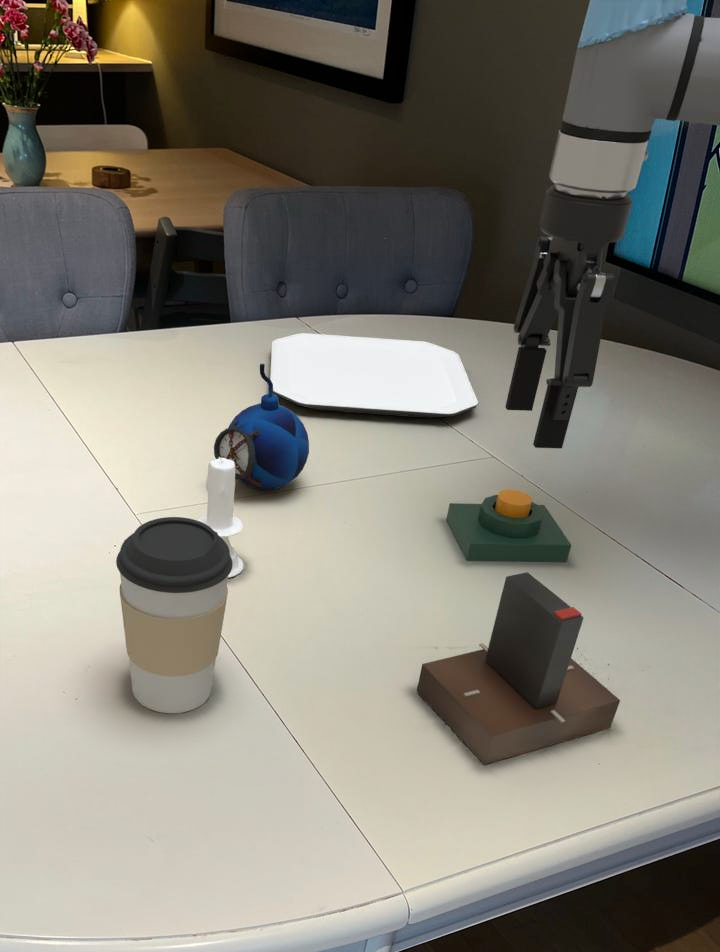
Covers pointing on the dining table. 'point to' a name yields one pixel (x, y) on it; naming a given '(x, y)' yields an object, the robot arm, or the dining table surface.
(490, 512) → the box
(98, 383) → the dining table surface
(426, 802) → the dining table surface
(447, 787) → the dining table surface
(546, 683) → the dark grey block
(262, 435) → the bomb
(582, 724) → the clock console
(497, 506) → the button
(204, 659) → the coffee cup
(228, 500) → the candle
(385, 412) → the plate
